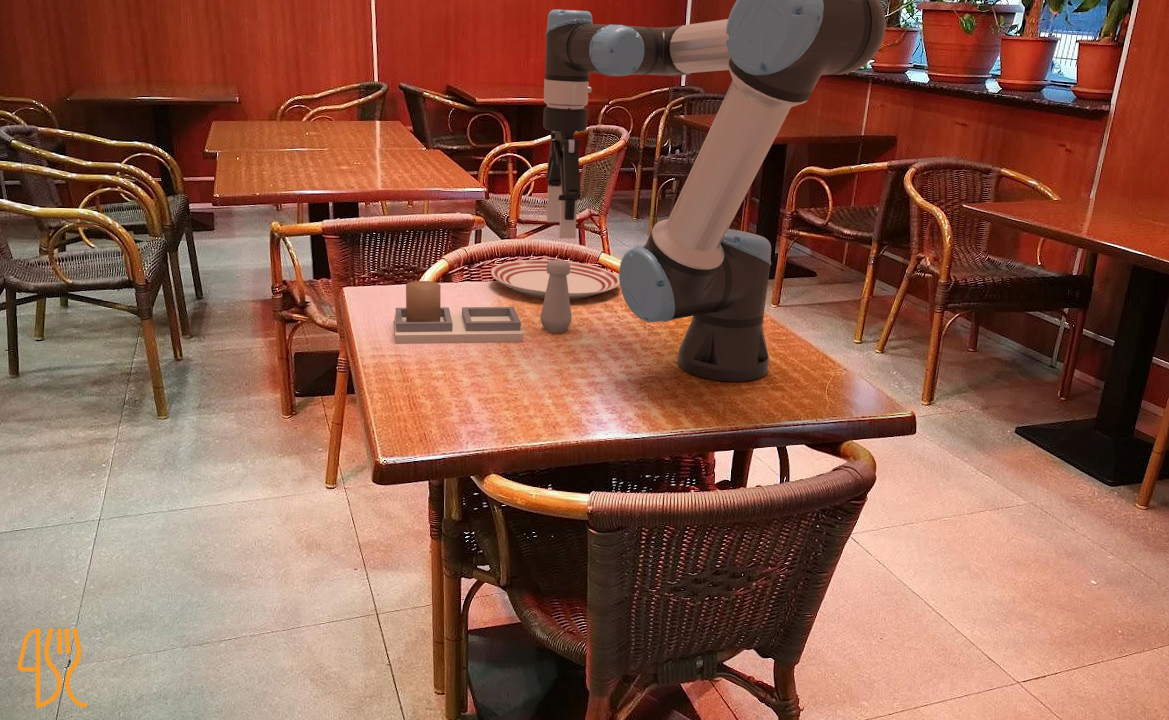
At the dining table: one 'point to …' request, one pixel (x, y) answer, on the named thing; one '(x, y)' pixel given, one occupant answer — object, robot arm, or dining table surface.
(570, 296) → the dinner plate
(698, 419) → the dining table surface
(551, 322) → the salt shaker
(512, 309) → the board
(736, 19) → the robot arm
